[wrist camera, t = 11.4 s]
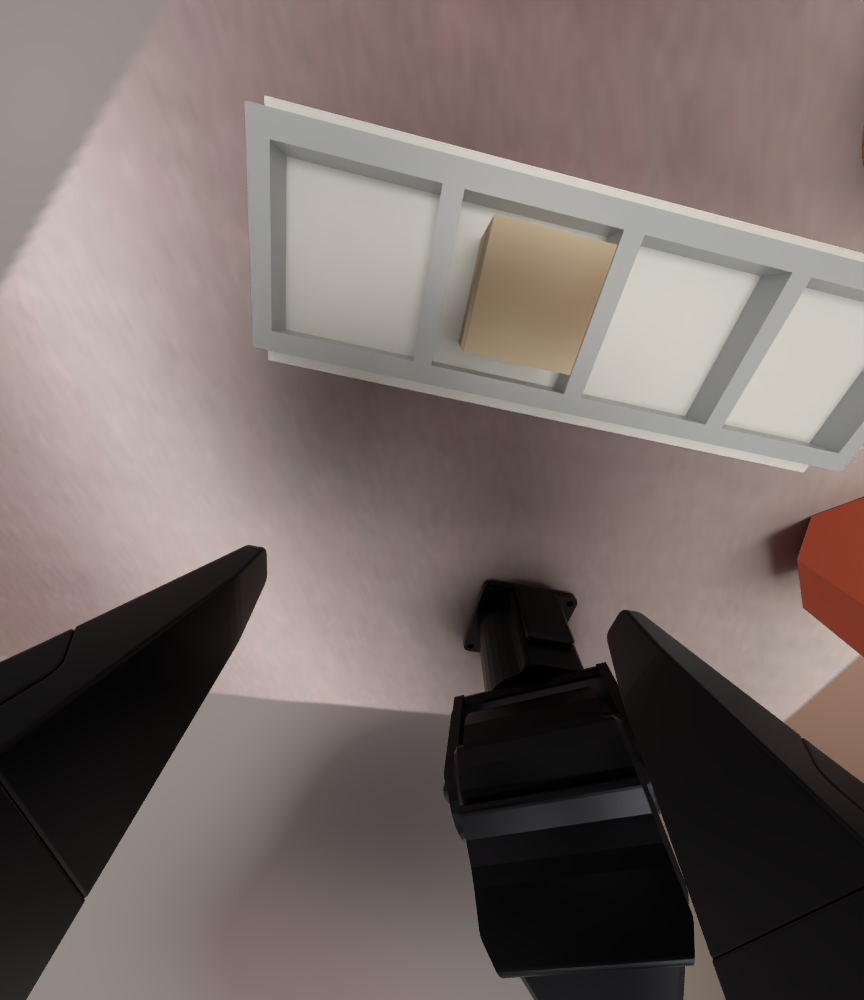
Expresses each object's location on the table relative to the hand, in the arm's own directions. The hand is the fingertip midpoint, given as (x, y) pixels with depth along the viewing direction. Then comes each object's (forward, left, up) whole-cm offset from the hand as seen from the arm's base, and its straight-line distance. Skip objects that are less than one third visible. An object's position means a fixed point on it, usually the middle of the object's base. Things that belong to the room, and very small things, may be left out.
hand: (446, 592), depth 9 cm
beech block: (+7, -2, -11) cm, 13 cm away
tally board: (+7, -5, -12) cm, 15 cm away
